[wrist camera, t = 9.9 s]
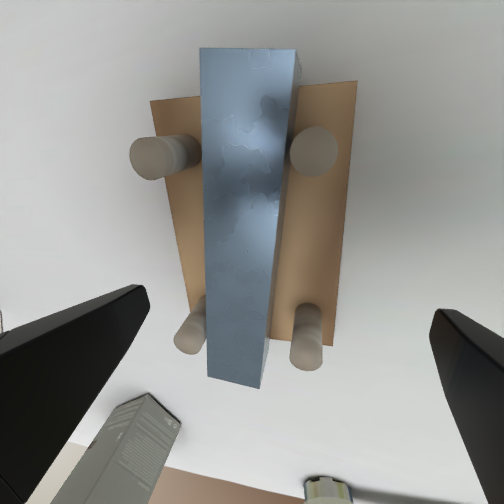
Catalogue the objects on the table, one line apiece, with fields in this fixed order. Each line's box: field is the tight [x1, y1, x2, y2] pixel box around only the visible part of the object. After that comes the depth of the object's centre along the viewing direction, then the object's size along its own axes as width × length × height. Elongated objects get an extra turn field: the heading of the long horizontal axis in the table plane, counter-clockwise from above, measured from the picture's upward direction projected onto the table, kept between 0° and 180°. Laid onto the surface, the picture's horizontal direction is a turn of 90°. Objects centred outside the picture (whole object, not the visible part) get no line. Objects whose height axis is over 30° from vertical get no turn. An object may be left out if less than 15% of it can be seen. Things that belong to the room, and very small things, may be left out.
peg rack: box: [129, 81, 357, 371], centre depth 17 cm, size 12×18×6 cm, turn 3°
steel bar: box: [199, 48, 302, 389], centre depth 17 cm, size 20×4×4 cm, turn 177°
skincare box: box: [50, 394, 181, 504], centre depth 28 cm, size 8×7×16 cm
